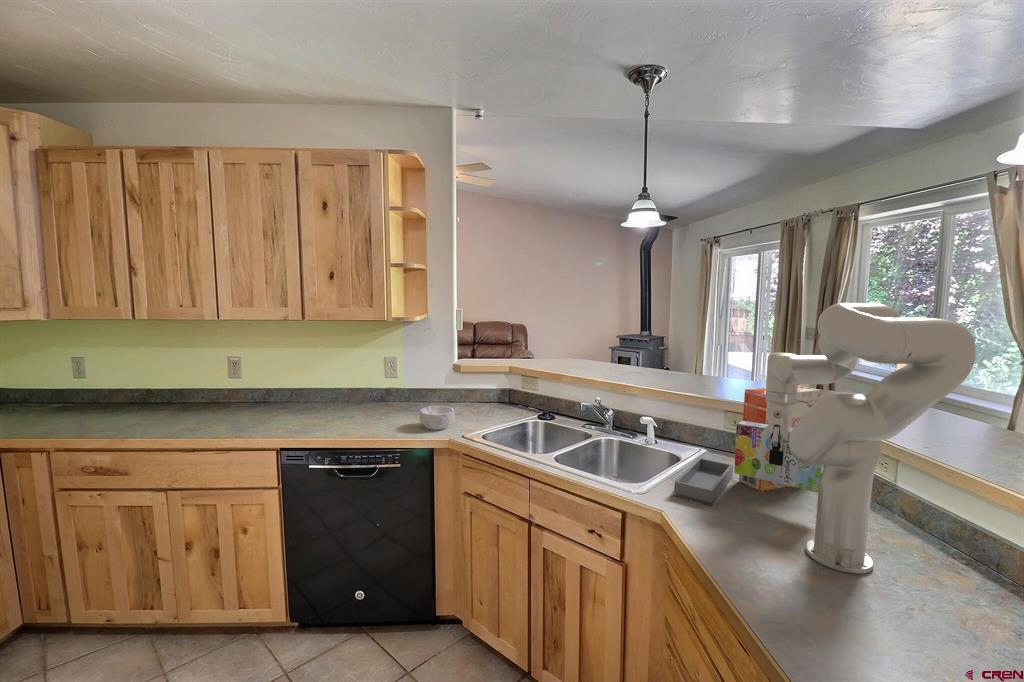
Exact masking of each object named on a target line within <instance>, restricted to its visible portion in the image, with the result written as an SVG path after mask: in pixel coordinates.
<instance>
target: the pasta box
mask: <svg viewBox="0 0 1024 682" xmlns="http://www.w3.org/2000/svg"><path fill="white" fill-rule="evenodd" d="M765 399H766V387H759V388H749V389H744V400H743V415H742V421H747V422H753V423H760V424H766V425H768V423H769V407H770V403H767V402H766V401H765ZM819 399H821V389H817V388H812V387H808V386H803V385H798V391H797V405H793V424H792V429H793V428H794V426H795V425H796V424H797V423H798V421H799V420H800V419H801V418H802V417H803V416H804V415H805V414H806V412H807V411H808V410H809V409H810V408H811V407H812V406H813V405H814V404H815V403H816V402H817V401H818V400H819ZM738 475H739V477H738V482H739V481H740V482H739V483H741V482H742V483H741V484H743V483H744V485H745V484H747V485H749V486H748V487H750V486H751V487H750V488H752V487H753V488H752V489H754V488H755V489H754V490H756V489H757V490H756V491H758V490H759V491H758V492H760V491H762V492H765V491H764V490H767V491H771V490H770V489H772V490H776V489H775V488H777V489H781V488H780V487H782V488H786V487H785V486H787V485H783V484H778V483H774V482H770V481H766V480H761V479H757V478H753V477H749V476H744V475H740V474H738ZM747 485H746V486H747ZM787 487H788V486H787Z"/></svg>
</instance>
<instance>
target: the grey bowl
mask: <svg viewBox="0 0 1024 682" xmlns="http://www.w3.org/2000/svg"><path fill="white" fill-rule="evenodd" d="M454 421H455V409H454V408H453V407H450V406H445V405H431V406H430V405H429V406H425V407H422V408H420V409H419V423H421V424H423V425H424V427H425V428H426V429H427V430H430V431H431V430H432V431H441V430H446V429H447V428H449V426H450V425H451V423H454Z"/></svg>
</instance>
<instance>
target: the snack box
mask: <svg viewBox="0 0 1024 682" xmlns="http://www.w3.org/2000/svg"><path fill="white" fill-rule="evenodd" d="M735 427H736V428H735V430H736V431H735V448H734V450H735V451H734V467H733V474H736V475H739V474H740V475H744V476H749V477H753V478H757V479H761V480H766V481H770V482H774V483H778V484H783V485H787V487H792V488H795V489H801V490H805V491H808V492H809V491H810V492H814V493H817V494H818V490H819V481H820V477H821V474H822V472H823V470H824V468H825V466H813V465H806V464H803V463H801V462H799V461H798V460H797V459H796V458H795V457H794V456H793V455H792V453H791V451H790V448H789V441H788V442H786V440H783V447H782V451H783V465H782V466H779V465H774V464H770V463H769V453H770V446H771V439H770V438H769V437H768V425H766V424H760V423H753V422H747V421H743V420H741V421H738V423H737V424H736V426H735ZM791 431H792V429H791ZM791 431H790V434H791ZM770 436H772V435H770ZM789 437H790V436H789ZM778 439H781V438H780V437H779V438H778ZM778 443H780V442H778Z"/></svg>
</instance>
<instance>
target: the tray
mask: <svg viewBox="0 0 1024 682" xmlns="http://www.w3.org/2000/svg"><path fill="white" fill-rule="evenodd" d="M733 474H734V464H731V463H726V462H722V461H718V460H717V461H716V460H712V459H708V458H703V457H699V458H698V459H697V460H695V462H693V464H691V465H690V466H689V467H688V468H687V469H686V470H685V471H684V472H683V473H682V474H681V475H680V476H679V477H678V478H676V480H674V488H673V489H674V491H673V497H675V496H677V498H679V497H680V498H679V499H683V498H684V500H687V499H688V500H687V501H690V500H691V502H695V503H698V504H701V503H702V505H705V506H709V507H713V505H714V504H715V503H716V501H717V500H718V498H719V497H720V496H721V495H722V493H723V492H724V491H725V490H726V488H727V486H728V485H729V484H728V483H730V482H731V481H732V479H733ZM730 480H731V481H730ZM727 484H728V485H727ZM725 487H726V488H725ZM714 502H715V503H714Z"/></svg>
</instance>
